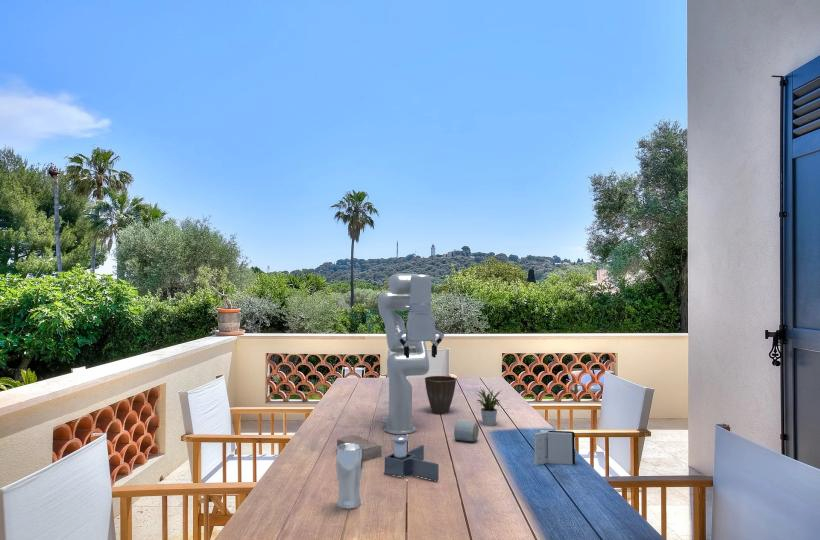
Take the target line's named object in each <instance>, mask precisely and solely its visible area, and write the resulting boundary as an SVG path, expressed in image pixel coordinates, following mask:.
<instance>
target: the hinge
mask: <svg viewBox="0 0 820 540" xmlns="http://www.w3.org/2000/svg"><path fill="white" fill-rule="evenodd" d="M575 440H576V435H575V432H574V431H572V430H559V429H558V430H555V429H547V430H546V429H540V430H539V432H536V433H535V432H534V434H533V441H534V442H533V443H534V445H533V447H534V451H533V454H534V465H535V466H538V465H543V464H551V465H552V464H553V465H554V464H556V465H568V466H569V465H576V452H575V451H576V441H575Z"/></svg>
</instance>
